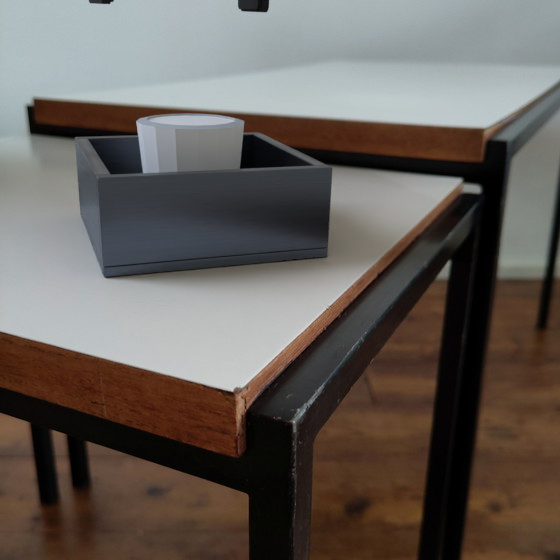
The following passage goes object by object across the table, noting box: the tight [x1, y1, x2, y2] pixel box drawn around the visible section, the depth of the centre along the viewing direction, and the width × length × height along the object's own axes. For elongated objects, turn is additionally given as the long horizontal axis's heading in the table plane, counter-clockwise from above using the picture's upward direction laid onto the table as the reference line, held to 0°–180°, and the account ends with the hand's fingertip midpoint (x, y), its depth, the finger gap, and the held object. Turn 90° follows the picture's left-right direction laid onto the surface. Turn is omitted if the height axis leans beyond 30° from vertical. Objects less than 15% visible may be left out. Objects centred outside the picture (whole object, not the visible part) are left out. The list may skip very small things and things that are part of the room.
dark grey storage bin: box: [74, 131, 333, 278], centre depth 46 cm, size 14×14×6 cm
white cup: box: [135, 112, 245, 173], centre depth 45 cm, size 7×7×7 cm
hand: (180, 7), depth 42 cm, fingers open, 9 cm apart
